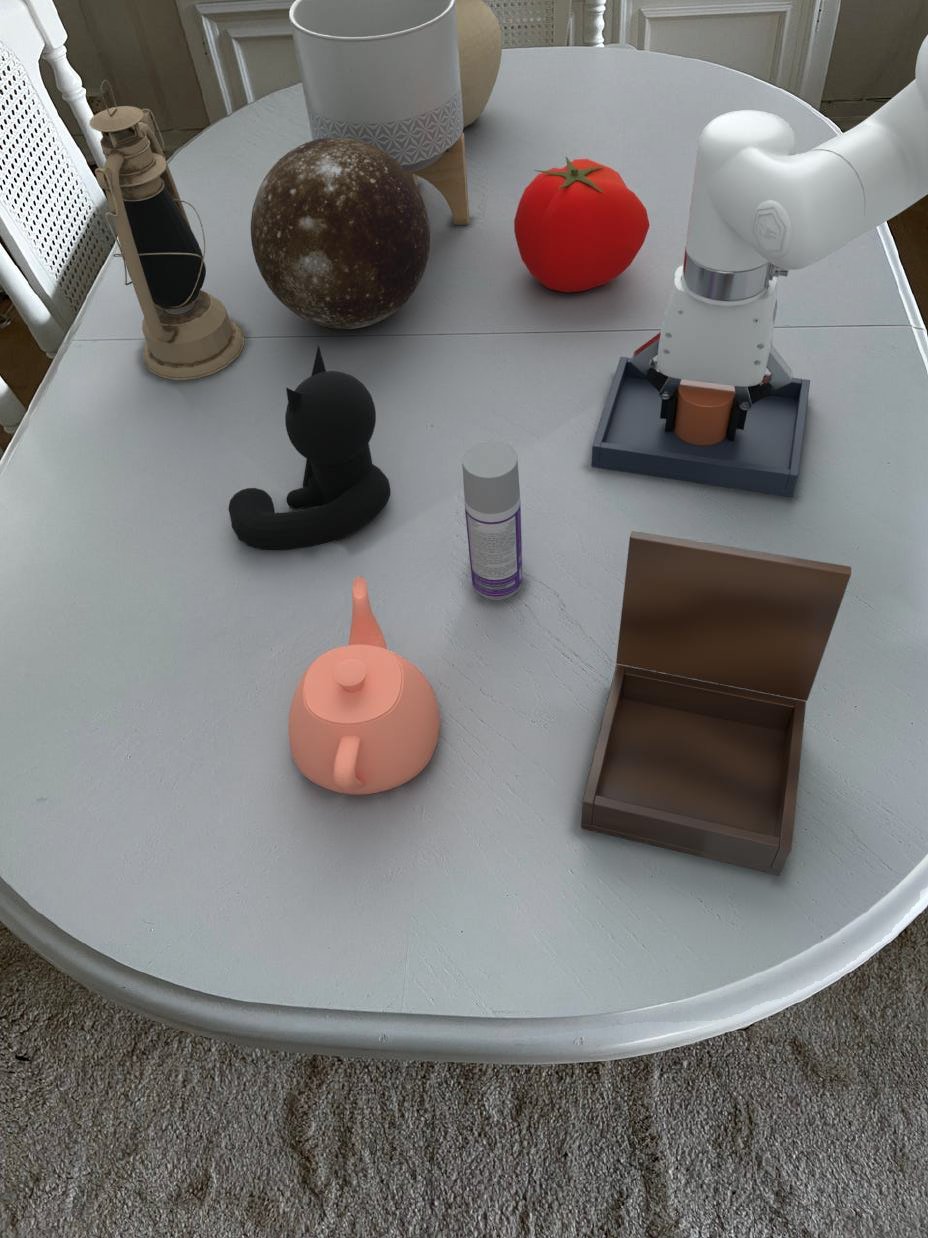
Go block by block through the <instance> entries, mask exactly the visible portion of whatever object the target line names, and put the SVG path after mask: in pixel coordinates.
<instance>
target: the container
mask: <svg viewBox="0 0 928 1238" xmlns="http://www.w3.org/2000/svg"><path fill="white" fill-rule="evenodd" d="M518 460H519V459H518V453H517V451H516V450H515V448H513V446H512V445H510V444H509V443H506V442H504V441H501V440H495V439H494V440H493V439H492V440H491V439H489V440H482V441H479V442H475V443H474V444H472V445H470V446H469V447H468V448H467V449H466V450H464V452H463V455H462V458H461V465H462V478H463V479H462V481H463V499H464V500H463V501H464V512H465V523H466V533H467V544H468V545H467V546H468V554H469V555H468V556H469V566H470V575H471V576H470V577H471V584H472V587H473V591H475V592H476V593H477V594H478V595H479V596H480V597H482V598H485V599H487V600H491V601H492V600H493V601H502V600H506V599H509V598H511V597H513V596H515V595H516V594H517V593H518V592H519V591H520V589H521V588H522V585H523V582H524V581H523V579H524V578H523V577H524V576H523V573H524V572H523V545H522V544H523V542H522V507H521V494H520V493H521V491H520V478H519V477H520V475H519V473H520V472H519V461H518Z"/></svg>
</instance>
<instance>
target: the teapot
mask: <svg viewBox="0 0 928 1238" xmlns="http://www.w3.org/2000/svg"><path fill="white" fill-rule="evenodd" d="M351 588H352V589H351V600H352V601H351V602H352V605H351V606H352V607H351V609H352V610H351V611H352V613H351V623H350V632H349V640H348V642H349V643H348V645H343V646H339V647H336V648H332V649H330V650H328V651H326V652H324V653H323V654H321V655H319V656H318V657H317V658H316V659H315V660H314V661H313V662H312V663H311V664H310V665H309V666H308V667H307V669H306V670H305V672H304V673H303V675H302V677H301V678H300V680H299V682H298V685H297V686H296V689H295V691H294V694H293V696H292V700H291V704H290V709H289V713H288V726H287V727H288V742H289V748H290V753H291V756H292V758H293V761H294V764H295V765H296V767H297V769H298V770H299V771H300V772H301V774H302V775H303V776H305V777H306V778H307V779H308V780H309V781H311V782H312V783H314V784H316V785H318V786H319V787H321V788H324V789H326V790H328V791H332V792H335V793H339V794H345V795H372V794H378V793H382V792H386V791H388V790H392V789H395V788H398V787H401V786H402V785H404V784H406V783H408V782H409V781H411V780H412V779H414V778H415V777H417V776H418V775H419V774H420V773H421V772H422V771H423V770H424V769H425V768H426V767H427V765H428V764H429V762H430V761H431V759H432V757H433V755H434V753H435V750H436V748H437V745H438V742H439V737H440V731H441V715H440V707H439V703H438V700H437V697H436V693H435V691H434V689H433V687H432V686H431V683H430V681H429V680H428V679H427V677H426V676H425V674H424V673H423V672H422V671H421V670H420V669H419V667H417V666H416V665H415V664H414V663H413V662H411V661H409V660H408V659H406V658H405V657H404V656H402V655H400V654H398V653H396V652H393V651H391V650H390V649H388V646H387V642H386V639H385V635H384V633H383V631H382V629H381V627H380V625H379V622H378V620H377V619H376V616H375V614H374V612H373V610H372V607H371V606H372V605H371V603H370V599H369V590H368V585H367V582H366V579H365V578H364V577H362V576H357V577H356V578H355V579H354V580H353V583H352V587H351Z"/></svg>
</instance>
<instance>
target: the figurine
mask: <svg viewBox="0 0 928 1238" xmlns="http://www.w3.org/2000/svg"><path fill="white" fill-rule="evenodd" d="M312 366H313V367H312V371H311V375H310V376H308V377H307V378H305V379H304V380H303V381H301V383H299V384H298V386H297V387H296V388H295V389H294V390H293V389H291V388H288V387H285V390H286V397H287V405H286V409H285V416H284V422H285V429H286V433H287V436H288V439H289V442H290V443H291V445H292V447H294V449H295V450H296V451H297V453H299V454H300V455H301V456H302V457H303V458H305V467H304V473H303V480H302V487H300V488H296V489H293V490H290V491H289V492H288V493H287V495H286V500H285V501H286V503H287V505H288V506H289V508H291V509H294V511H286V512H276V509H275V505H274V502H273V499H272V496H270V495H269V494H268V493H267V492H266V491H265V490H264V489H261V488H257V487H247V488H244V489H241V490H239V491H237V492H236V493H234V494H233V496H232V497H231V498H230V499H229V504H228V509H227V510H228V513H229V514H228V515H229V519H230V523H231V528H232V530H233V532H234V533H235V536H236V538H237V539H238V541H240V542H242V543H243V544H245V545H246V546H248V548H249V547H250V548H252V549H256V550H259V551H266V552H267V551H269V552H278V551H280V552H281V551H293V550H300V549H301V550H302V549H308V548H313V547H318V546H321V545H326V544H330V543H333V542H337V541H339V540H343V539H344V538H347V537H349V536H351V535H353V534H355V533H356V532H358V531H359V530H361V529H362V528H364V527H365V526H367V525H368V524H369V523H371V521H373V520H374V519H375V518H376V517H377V516H378V515H379V514H380V513H381V512H382V511H383V509H384V508H385V506H386V505H387V504H388V503H389V500H390V498H391V485H390V484H391V483H390V480H389V478H388V477H387V476H386V474H385V473H384V472H383V470H381V468H379V467H378V466H376V465H374V464H373V458H372V452H371V448H370V441H371V440H372V437H373V435H374V432H375V427H376V422H377V411H376V406H375V402H374V399H373V397H372V395H371V393H370V391H369V390H368V388H367V387H366V386H365V385H364V383H363V382H362V381H361V380H359V379H357V378H356V377H355V376H353V375H351V374H349V373H346V372H343V371H338V370H337V371H336V370H327V369H326V366H325V363H324V358H323V355H322V352H321V349H320V345H319V344H317V349H316V353H315V358H314V362H313V365H312ZM319 504H323V505H319ZM316 505H319V506H316ZM311 506H312V507H311ZM313 506H316V507H313ZM307 507H311V508H307ZM304 508H306V509H304ZM300 509H302V510H300Z"/></svg>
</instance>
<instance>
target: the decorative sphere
mask: <svg viewBox="0 0 928 1238" xmlns="http://www.w3.org/2000/svg"><path fill="white" fill-rule="evenodd" d="M250 239H251V240H250V241H251V247H252V252H253V257H254V260H255V263H256V266H257V268H258V270H259V272H260V275H261V278H262V279H263V280H264V282H265V284H266V285H267V287H268V288H269V290H270V292H271V293H272V295H274V296H275V297H276V299H277V300H278V301H279V302H280V303H281V304H282V305H283V306H284V307H286V308H287V309H288V310H290V311H291V312H292V313H294V315H297V316H298V317H300V318H302V319H304V320H305V321H308V322H310V323H311V324H314V325H318V326H321V327H324V328H328V329H335V330H337V329H338V330H353V329H354V330H355V329H360V328H361V329H362V328H365V327H368V326H372V325H374V324H377V323H379V322H382V321H384V320H385V319H387V318H389V317H390V316H391V315H393V314H394V313H396V312H397V311H399V310H400V309H401V308H402V307H403V306H404V305H405V304H406V303H407V302H408V301H409V299H410V298H411V296H412V295H413V294H414V293H415V291H416V289H417V288H418V286H419V284H420V283H421V280H422V278H423V276H424V273H425V271H426V268H427V264H428V261H429V257H430V251H431V250H430V249H431V226H430V219H429V214H428V210H427V206H426V203H425V201H424V198H423V196H422V194H421V192H420V190H419V187H418V186H416V184H415V183H414V181H413V180H412V178H411V177H410V175H409V174H408V173H407V172H406V170H405V169H404V168H403V167H402V166H401V165H400V164H399V163H398V162H397V161H396V160H395V159H393V158H392V157H391V156H390V155H388V154H387V153H385V152H384V151H382V150H380V149H379V148H377V147H375V146H373V145H371V144H368V143H366V142H363V141H359V140H355V139H351V138H342V137H332V138H322V139H318V140H314V141H313V140H311V141H308V142H305V143H302V144H300V145H299V146H296V147H295V148H293V149H291V150H290V151H289V152H287V153H285V154H284V155H283V156H282V157H281V158H279V160H277V161H276V163H274V165H273V166H272V167H271V169H270V170H269V171H268V173H267V174H266V175H265V176H264V178H263V180H262V182H261V184H260V186H259V187H258V190H257V193H256V195H255V198H254V201H253V206H252V210H251V218H250Z"/></svg>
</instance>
